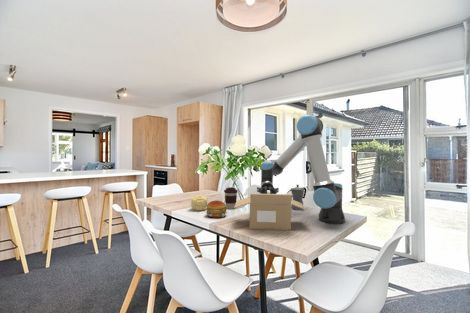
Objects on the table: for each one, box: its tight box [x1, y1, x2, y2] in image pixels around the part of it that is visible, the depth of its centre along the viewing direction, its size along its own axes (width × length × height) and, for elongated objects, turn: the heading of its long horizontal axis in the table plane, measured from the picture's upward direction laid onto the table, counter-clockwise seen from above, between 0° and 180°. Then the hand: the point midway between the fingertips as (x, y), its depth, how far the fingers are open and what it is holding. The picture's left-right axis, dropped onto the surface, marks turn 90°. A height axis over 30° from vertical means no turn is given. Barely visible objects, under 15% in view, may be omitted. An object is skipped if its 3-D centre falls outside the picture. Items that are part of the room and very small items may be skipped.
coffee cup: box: [223, 186, 238, 210], centre depth 176 cm, size 10×10×15 cm
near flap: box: [249, 193, 293, 205], centre depth 123 cm, size 21×9×1 cm
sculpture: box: [190, 194, 208, 212], centre depth 170 cm, size 12×12×11 cm
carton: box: [233, 196, 308, 231], centre depth 140 cm, size 39×27×14 cm
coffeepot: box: [290, 184, 308, 211], centre depth 175 cm, size 15×9×18 cm, turn 118°
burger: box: [205, 200, 228, 219], centre depth 154 cm, size 13×14×10 cm
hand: (268, 194), depth 123 cm, fingers closed
